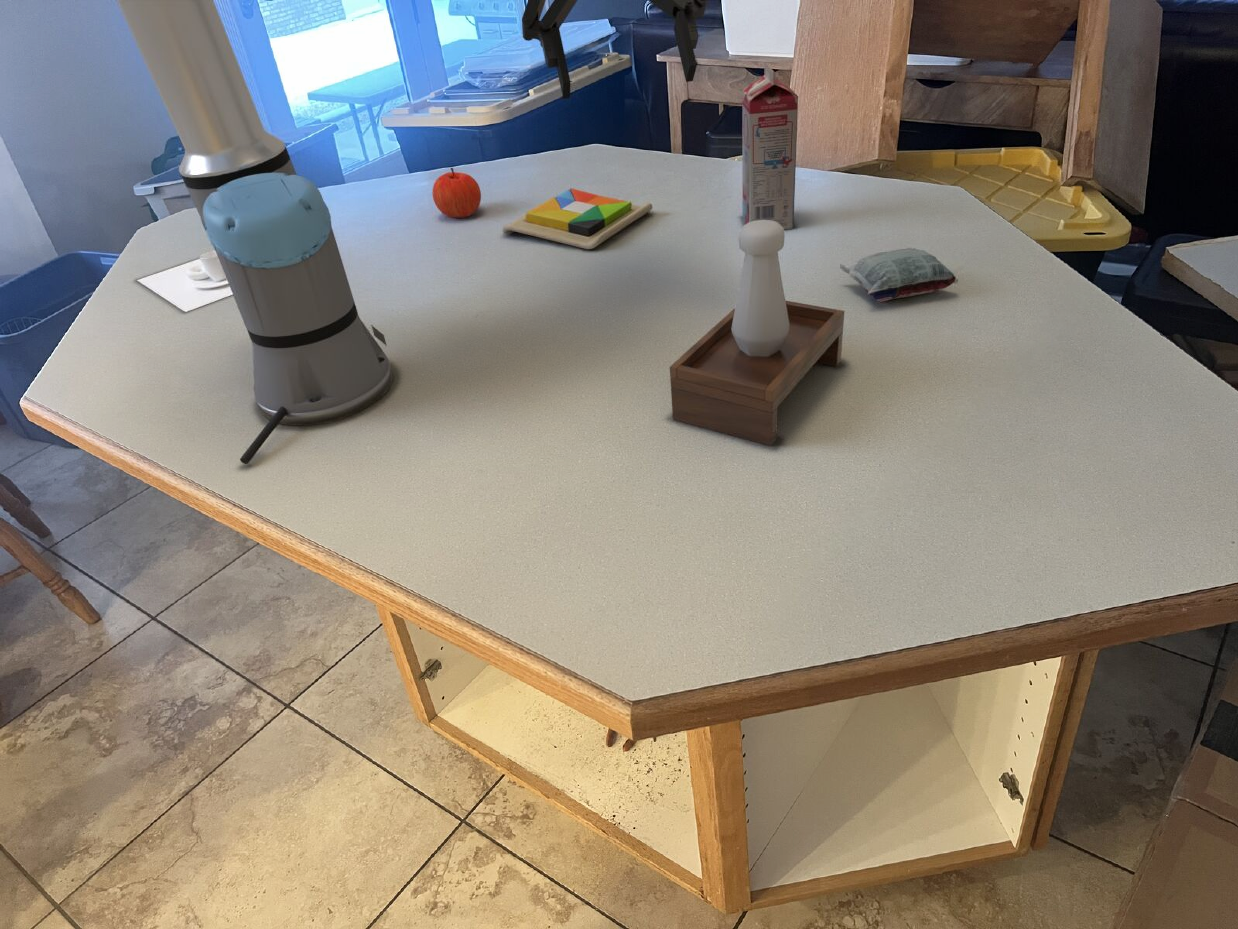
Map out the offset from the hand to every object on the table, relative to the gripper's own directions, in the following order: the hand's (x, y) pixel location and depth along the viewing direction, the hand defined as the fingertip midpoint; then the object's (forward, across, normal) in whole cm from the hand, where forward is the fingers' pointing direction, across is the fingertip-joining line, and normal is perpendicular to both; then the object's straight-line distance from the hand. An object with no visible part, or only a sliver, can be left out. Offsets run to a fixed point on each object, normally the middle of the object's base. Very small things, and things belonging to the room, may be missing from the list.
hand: (629, 82), depth 87 cm
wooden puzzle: (-6, +3, -46) cm, 46 cm away
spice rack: (+34, -8, -5) cm, 36 cm away
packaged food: (+22, -31, -17) cm, 42 cm away
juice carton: (+2, -25, -37) cm, 45 cm away
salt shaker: (+31, -8, -1) cm, 32 cm away
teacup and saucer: (-9, +60, -48) cm, 77 cm away
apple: (-16, +22, -56) cm, 62 cm away
